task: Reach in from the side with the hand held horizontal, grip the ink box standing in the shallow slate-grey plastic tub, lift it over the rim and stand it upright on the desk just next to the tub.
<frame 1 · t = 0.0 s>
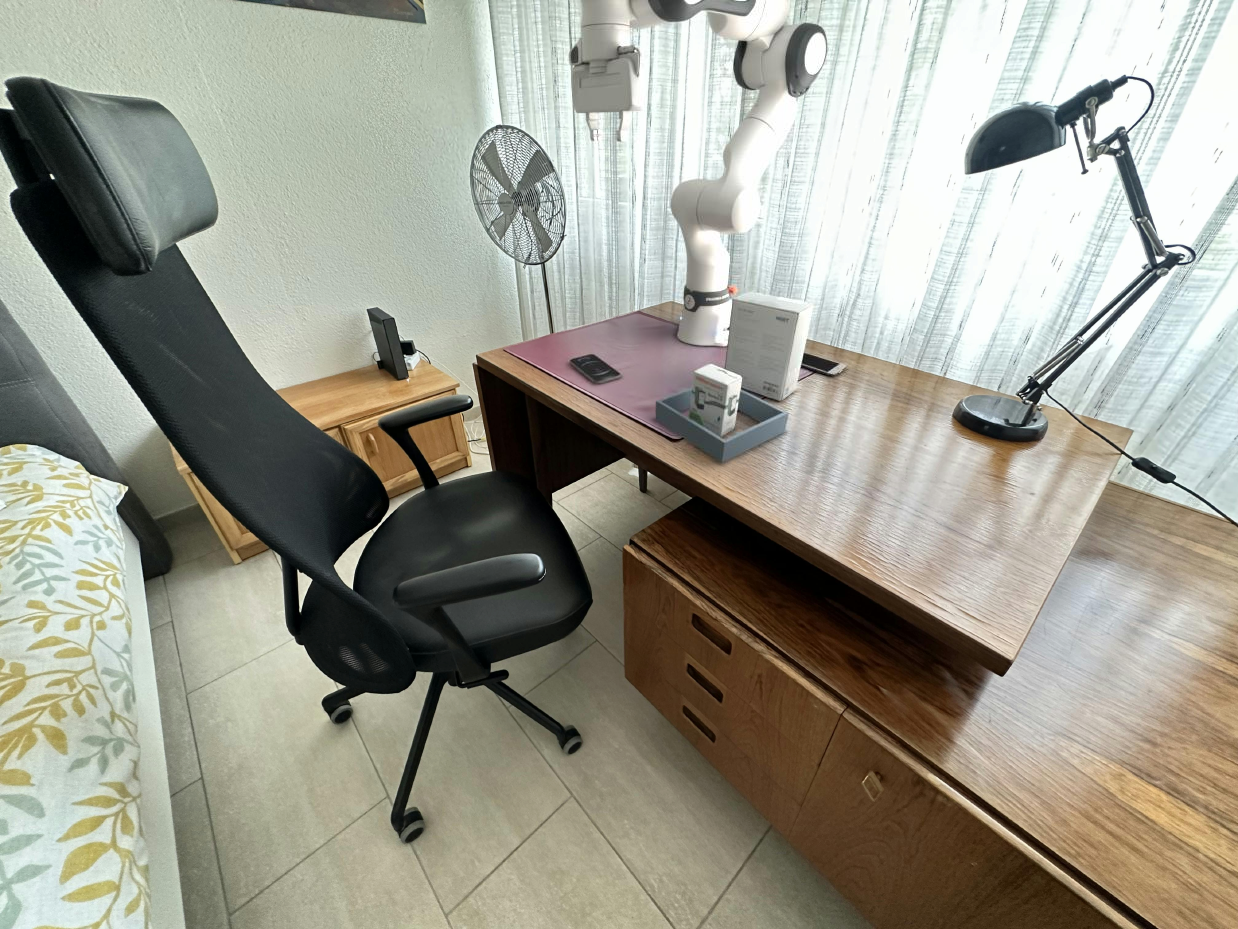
hand: (608, 141, 94), 48 cm above the table, tool pointing down, fingers open, 8 cm apart
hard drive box: (758, 387, 111), on the table
tub: (718, 425, 97), on the table
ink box: (711, 426, 98), resting in tub
smartphone 2: (811, 364, 120), on the table
smartphone: (594, 370, 120), on the table
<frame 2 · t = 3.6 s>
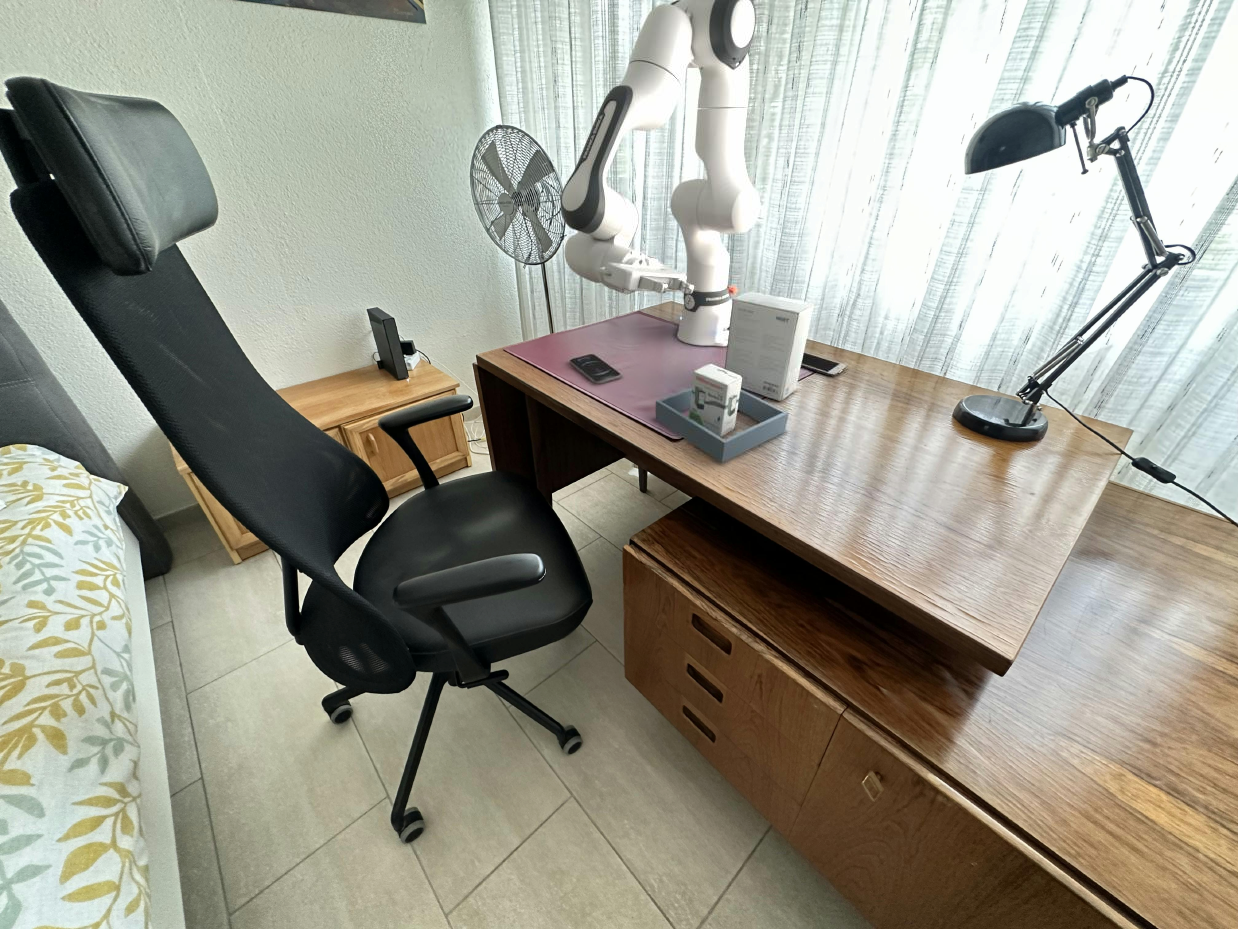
hand: (678, 289, 92), 24 cm above the table, tool horizontal, fingers open, 8 cm apart
nothing on the table moved.
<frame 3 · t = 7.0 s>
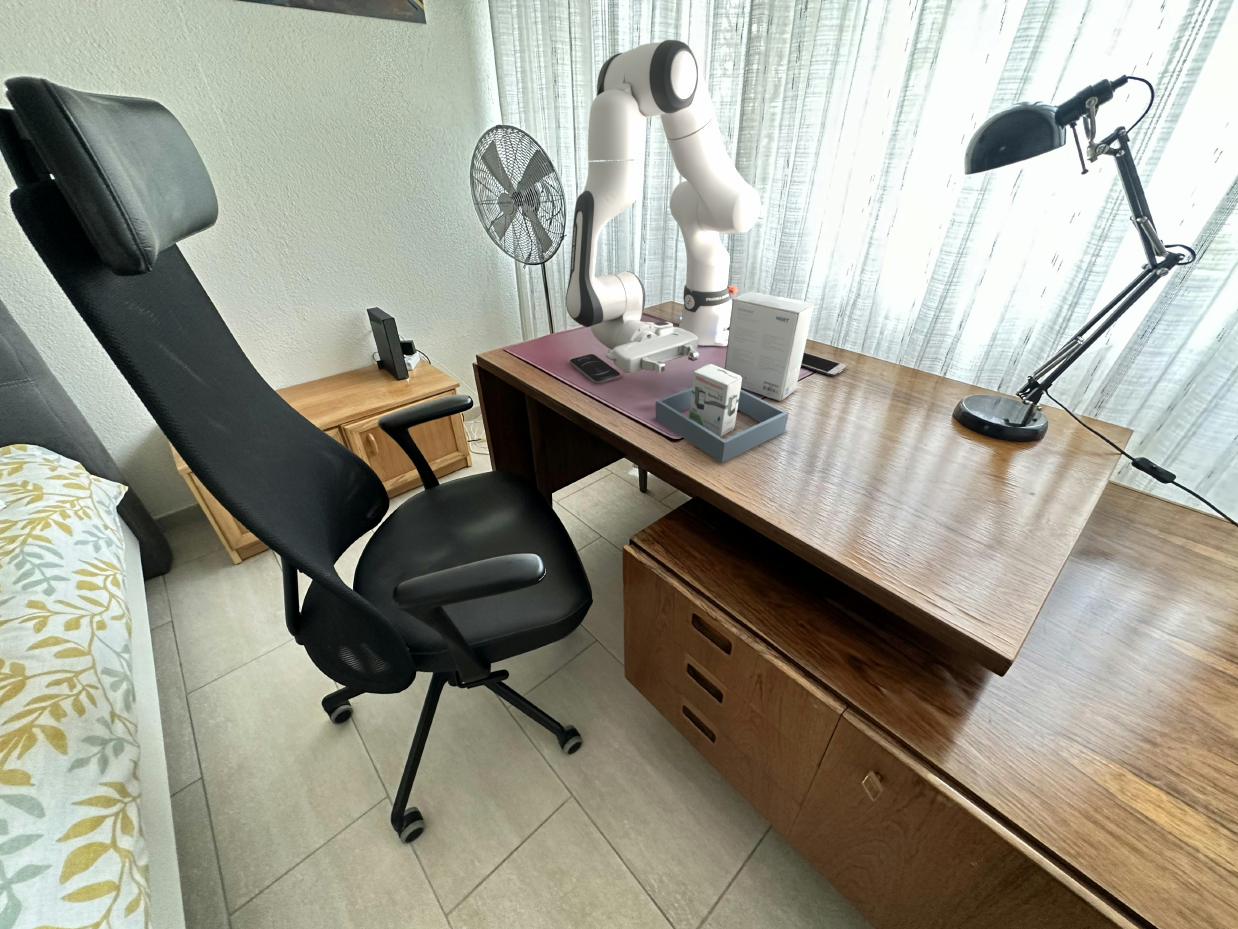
hand: (679, 362, 99), 10 cm above the table, tool horizontal, fingers open, 8 cm apart
nothing on the table moved.
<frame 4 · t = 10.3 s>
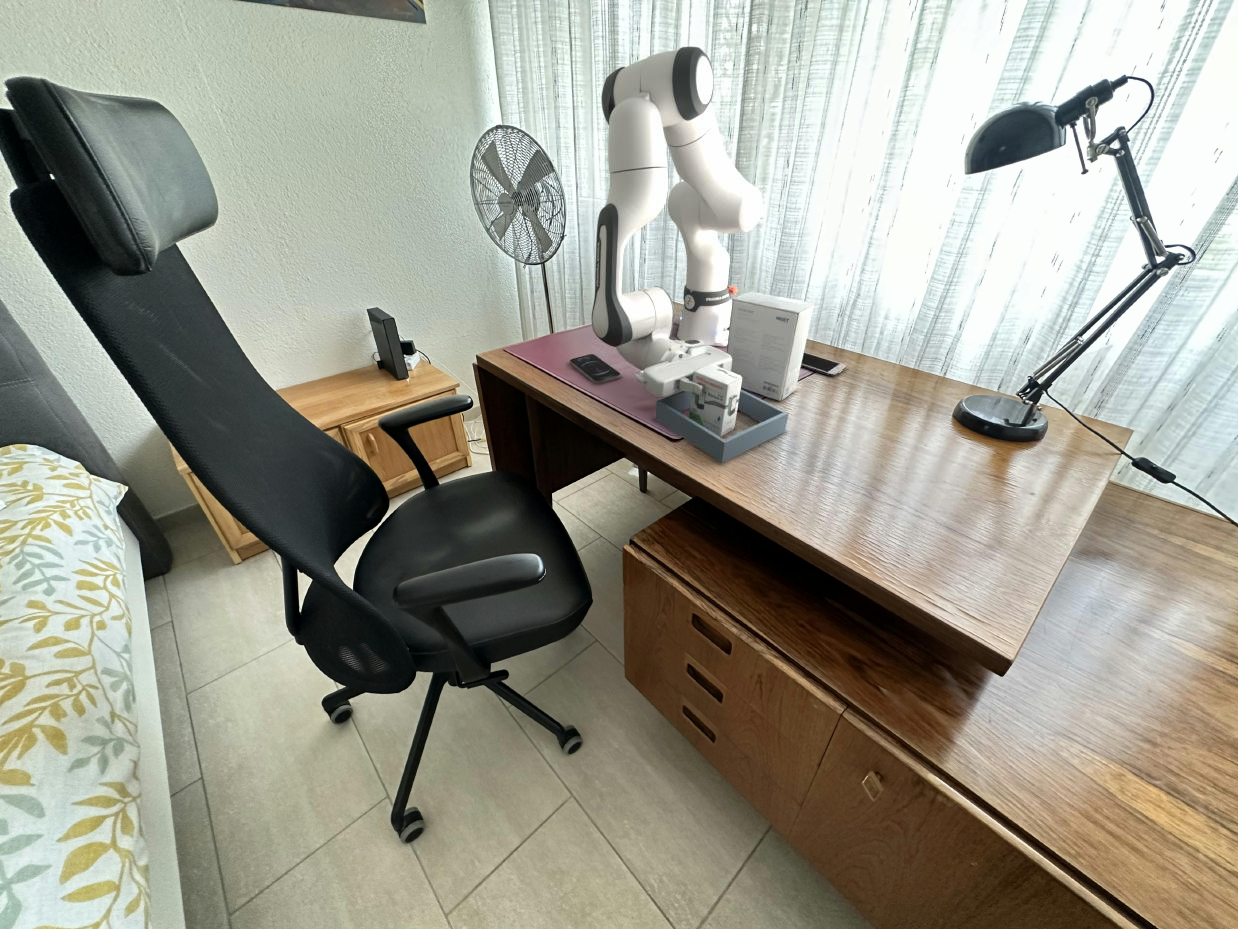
hand: (715, 385, 92), 9 cm above the table, tool horizontal, fingers closed on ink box, 5 cm apart
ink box: (711, 426, 98), resting in tub, touching gripper
everything else where it was.
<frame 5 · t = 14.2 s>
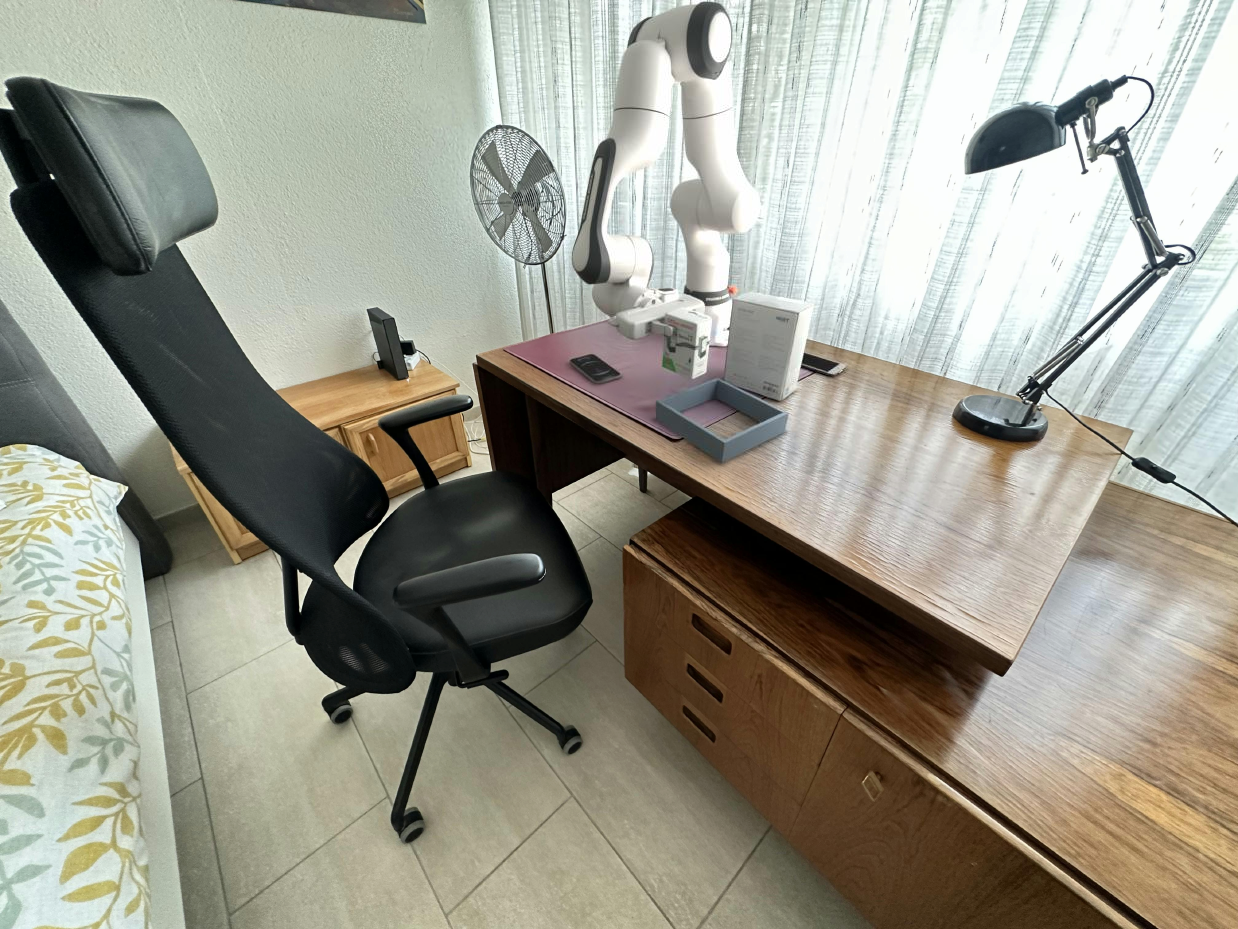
hand: (686, 327, 94), 18 cm above the table, tool horizontal, fingers closed on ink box, 5 cm apart
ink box: (683, 370, 99), point 9 cm above the table, touching gripper
everything else where it was.
when the fingers open (9 cm above the table, at t = 17.9 s): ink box stays where it is, on the table.
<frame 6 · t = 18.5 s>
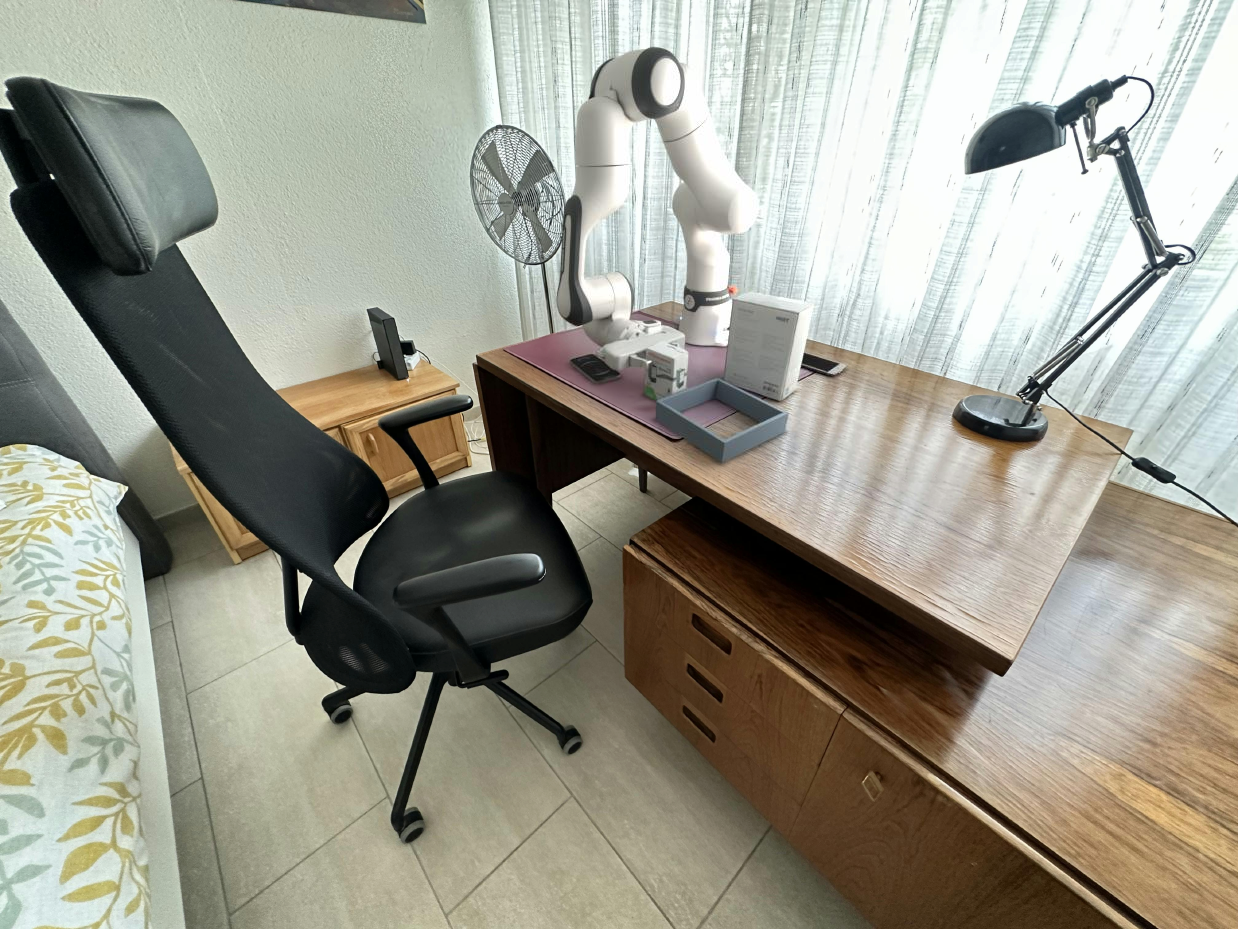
hand: (666, 359, 102), 9 cm above the table, tool horizontal, fingers open, 8 cm apart
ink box: (664, 398, 108), on the table
everything else where it was.
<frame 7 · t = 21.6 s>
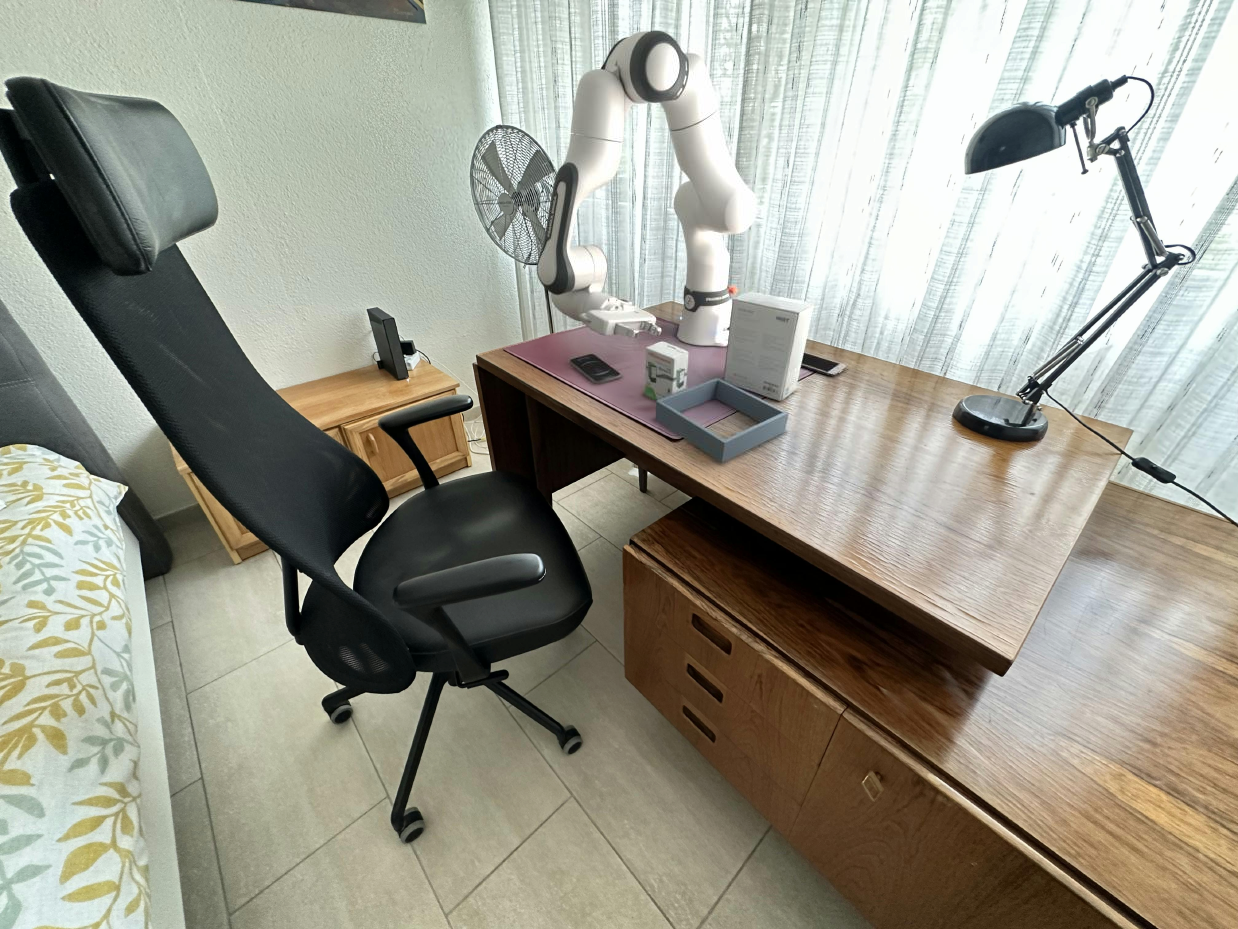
hand: (647, 333, 109), 11 cm above the table, tool horizontal, fingers open, 8 cm apart
nothing on the table moved.
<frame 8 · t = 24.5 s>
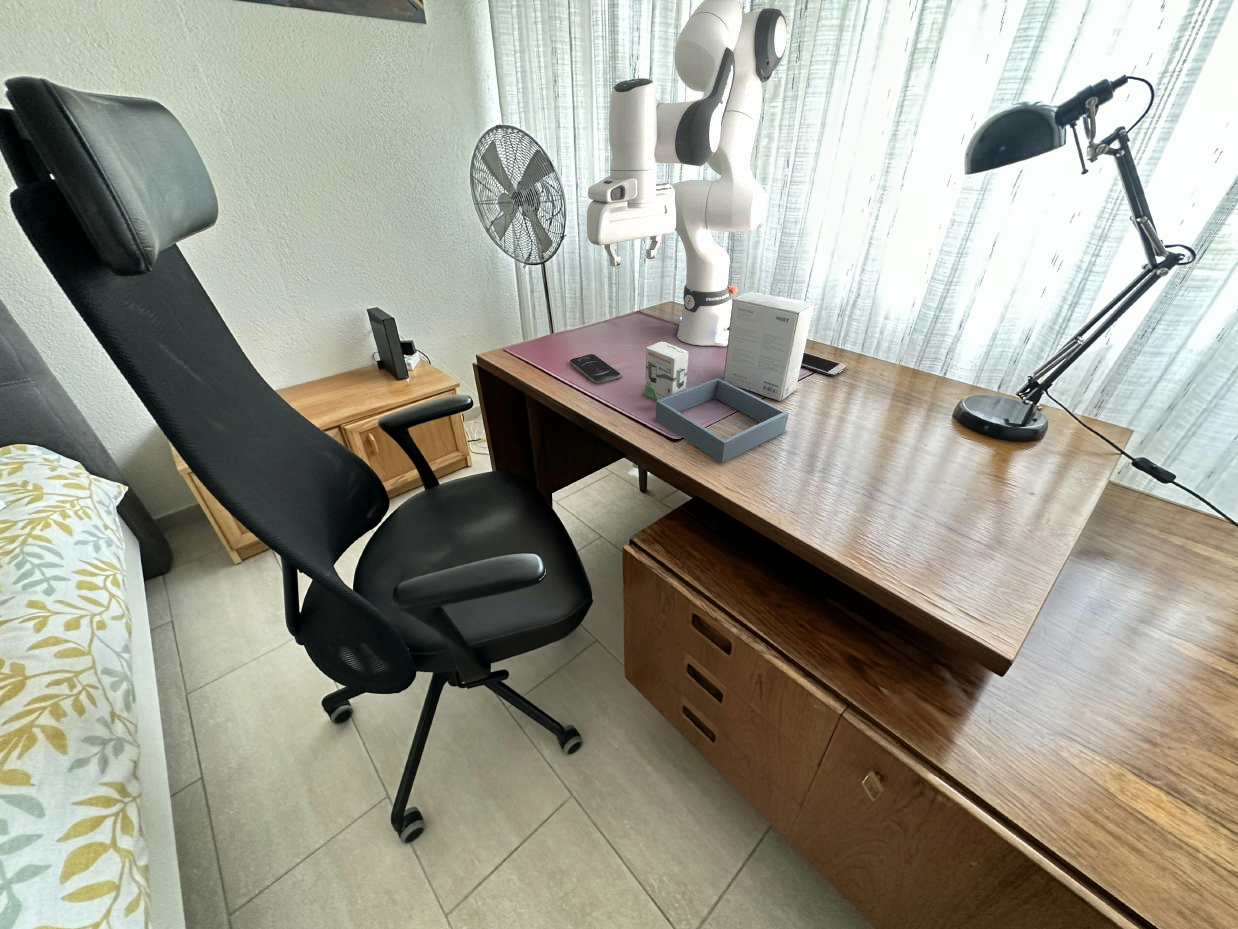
hand: (633, 261, 100), 27 cm above the table, tool pointing down, fingers open, 8 cm apart
nothing on the table moved.
at the end: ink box inside the target area (1.8 cm from its centre), on the table; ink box tilted 0°; the gripper is holding nothing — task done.
